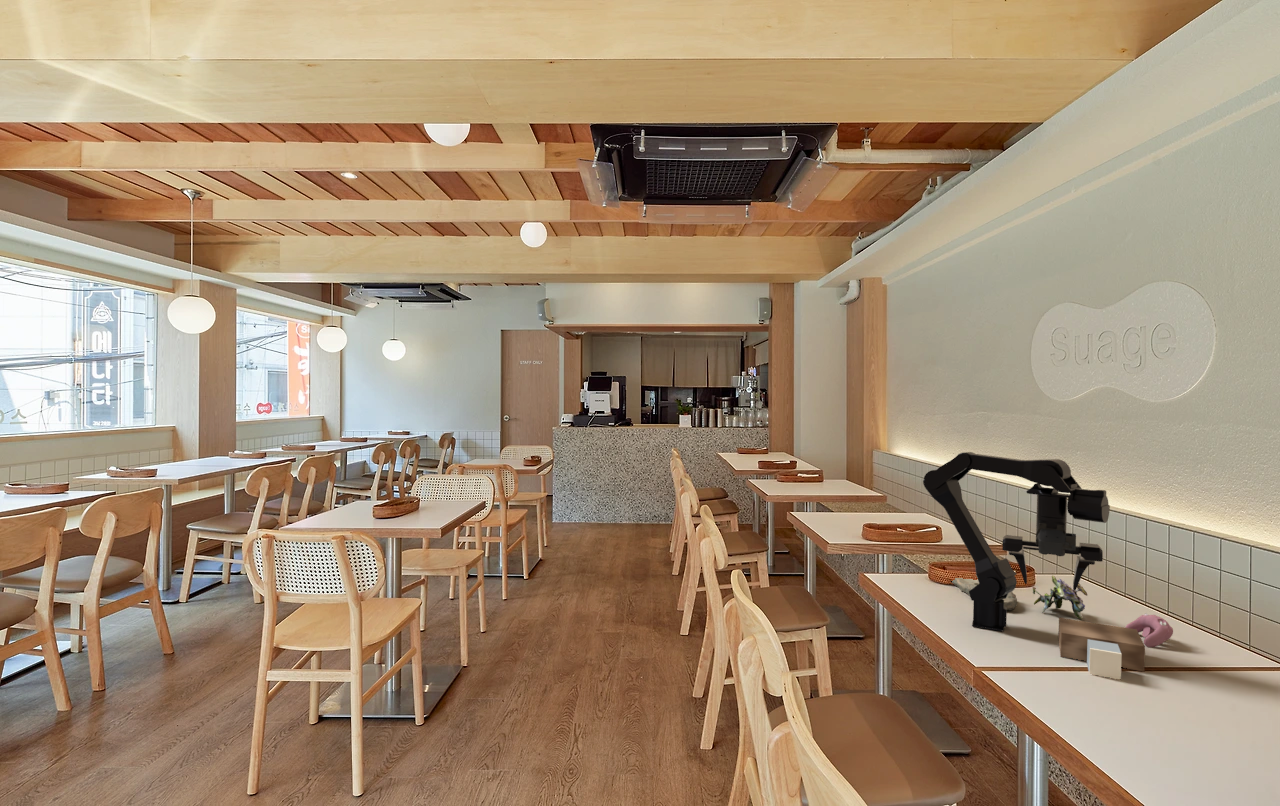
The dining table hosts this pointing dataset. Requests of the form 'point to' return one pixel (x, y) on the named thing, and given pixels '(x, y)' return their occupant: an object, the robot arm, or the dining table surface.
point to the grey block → (1104, 659)
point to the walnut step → (1079, 632)
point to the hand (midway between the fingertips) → (1049, 586)
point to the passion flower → (1063, 597)
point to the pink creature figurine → (1152, 629)
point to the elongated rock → (969, 584)
